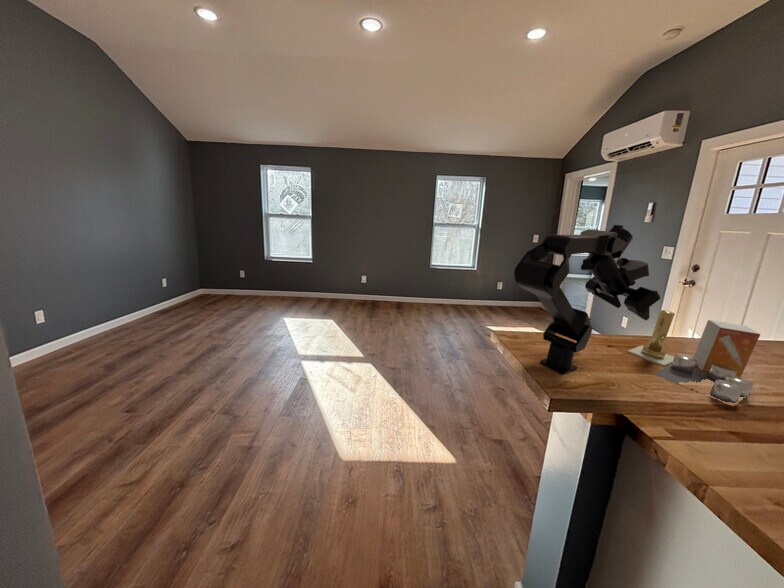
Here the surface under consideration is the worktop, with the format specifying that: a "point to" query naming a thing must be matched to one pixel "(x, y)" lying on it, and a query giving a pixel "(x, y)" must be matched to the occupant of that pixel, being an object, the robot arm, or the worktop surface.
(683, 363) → the spacers
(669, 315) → the brass pin
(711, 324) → the small box
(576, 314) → the robot arm
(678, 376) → the mat
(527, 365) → the worktop surface
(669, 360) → the coaster
